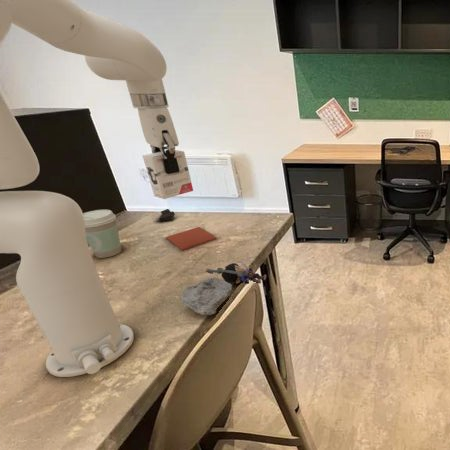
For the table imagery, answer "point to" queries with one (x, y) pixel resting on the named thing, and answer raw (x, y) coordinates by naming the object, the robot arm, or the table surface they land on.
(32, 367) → the table surface
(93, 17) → the robot arm
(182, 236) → the side mat
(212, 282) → the stone
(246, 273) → the toy
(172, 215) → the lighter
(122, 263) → the table surface
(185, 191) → the ink box
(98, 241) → the coffee cup
